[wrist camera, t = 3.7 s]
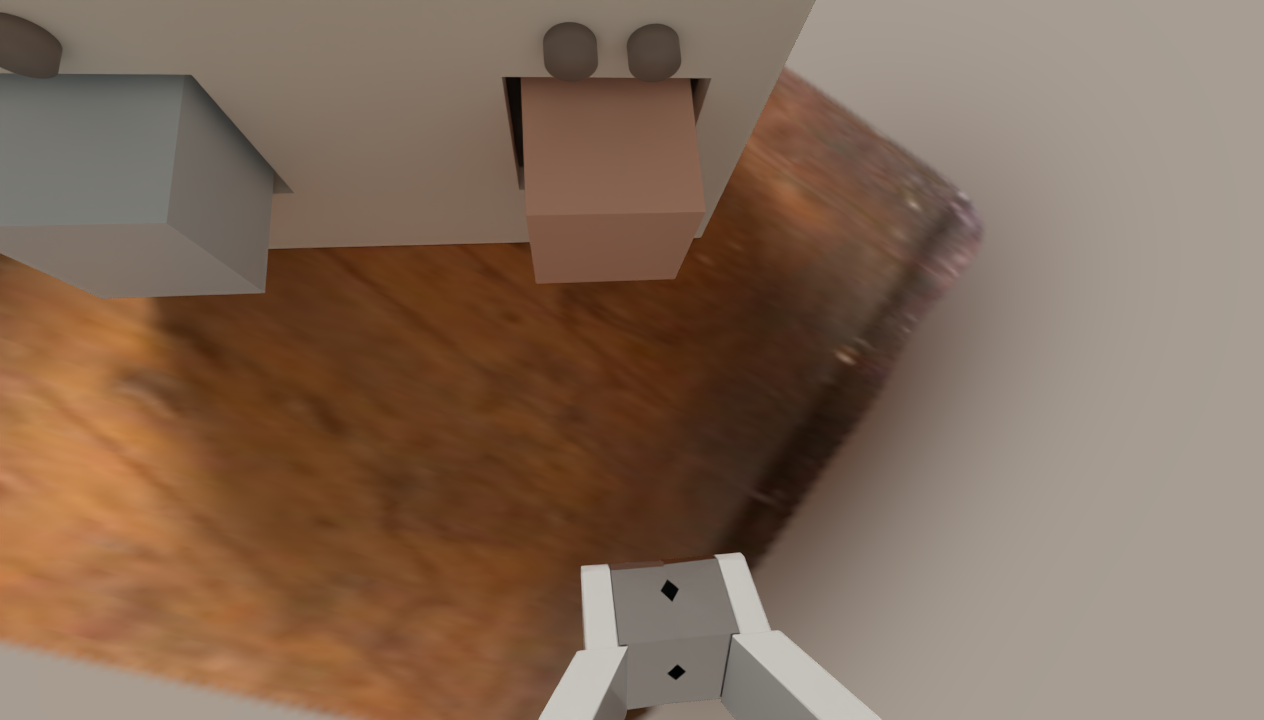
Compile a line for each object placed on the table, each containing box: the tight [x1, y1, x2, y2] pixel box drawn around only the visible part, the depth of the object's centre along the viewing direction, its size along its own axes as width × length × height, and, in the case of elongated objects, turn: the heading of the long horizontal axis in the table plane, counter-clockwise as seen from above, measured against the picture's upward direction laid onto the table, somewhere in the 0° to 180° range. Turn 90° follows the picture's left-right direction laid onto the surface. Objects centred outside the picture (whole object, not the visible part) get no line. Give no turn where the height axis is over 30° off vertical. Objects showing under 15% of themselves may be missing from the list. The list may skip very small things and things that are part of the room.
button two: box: [521, 77, 706, 284], centre depth 20 cm, size 5×8×5 cm, turn 4°
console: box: [0, 0, 815, 249], centre depth 20 cm, size 24×10×15 cm, turn 94°
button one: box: [0, 73, 274, 299], centre depth 18 cm, size 5×8×5 cm, turn 5°
